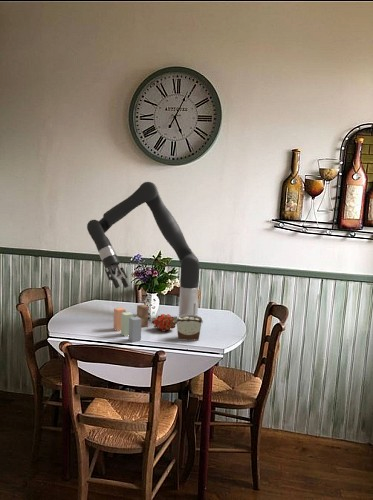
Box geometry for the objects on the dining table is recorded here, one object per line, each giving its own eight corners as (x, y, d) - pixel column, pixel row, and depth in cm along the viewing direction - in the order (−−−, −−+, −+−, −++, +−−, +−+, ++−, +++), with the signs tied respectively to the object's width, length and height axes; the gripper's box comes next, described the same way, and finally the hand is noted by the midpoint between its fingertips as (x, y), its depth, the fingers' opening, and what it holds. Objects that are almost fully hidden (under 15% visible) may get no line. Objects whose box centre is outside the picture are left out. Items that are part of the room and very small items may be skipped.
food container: (201, 335, 214) (202, 314, 212) (202, 340, 208) (203, 318, 206) (174, 334, 213) (175, 313, 212) (174, 339, 207) (175, 317, 206)
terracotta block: (121, 327, 220) (121, 307, 218) (125, 330, 216) (125, 309, 215) (113, 328, 218) (114, 308, 216) (117, 331, 214) (117, 310, 213)
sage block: (128, 332, 213) (129, 311, 212) (132, 335, 210) (133, 314, 208) (120, 334, 211) (121, 312, 209) (124, 336, 208) (125, 315, 206)
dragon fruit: (178, 334, 218) (152, 336, 219) (177, 320, 224) (153, 322, 225) (175, 324, 212) (149, 326, 213) (175, 309, 218) (150, 311, 219)
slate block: (136, 338, 207) (137, 316, 205) (140, 340, 203) (141, 318, 202) (128, 339, 204) (129, 317, 203) (132, 342, 201) (133, 320, 200)
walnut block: (143, 324, 226) (144, 304, 225) (147, 326, 223) (148, 306, 221) (136, 325, 224) (137, 305, 223) (140, 327, 221) (141, 307, 219)
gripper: (107, 253, 216) (121, 283, 213) (122, 254, 230) (135, 283, 226) (95, 260, 218) (108, 291, 215) (110, 261, 232) (123, 290, 228)
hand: (122, 287), depth 220 cm, fingers open, 8 cm apart
